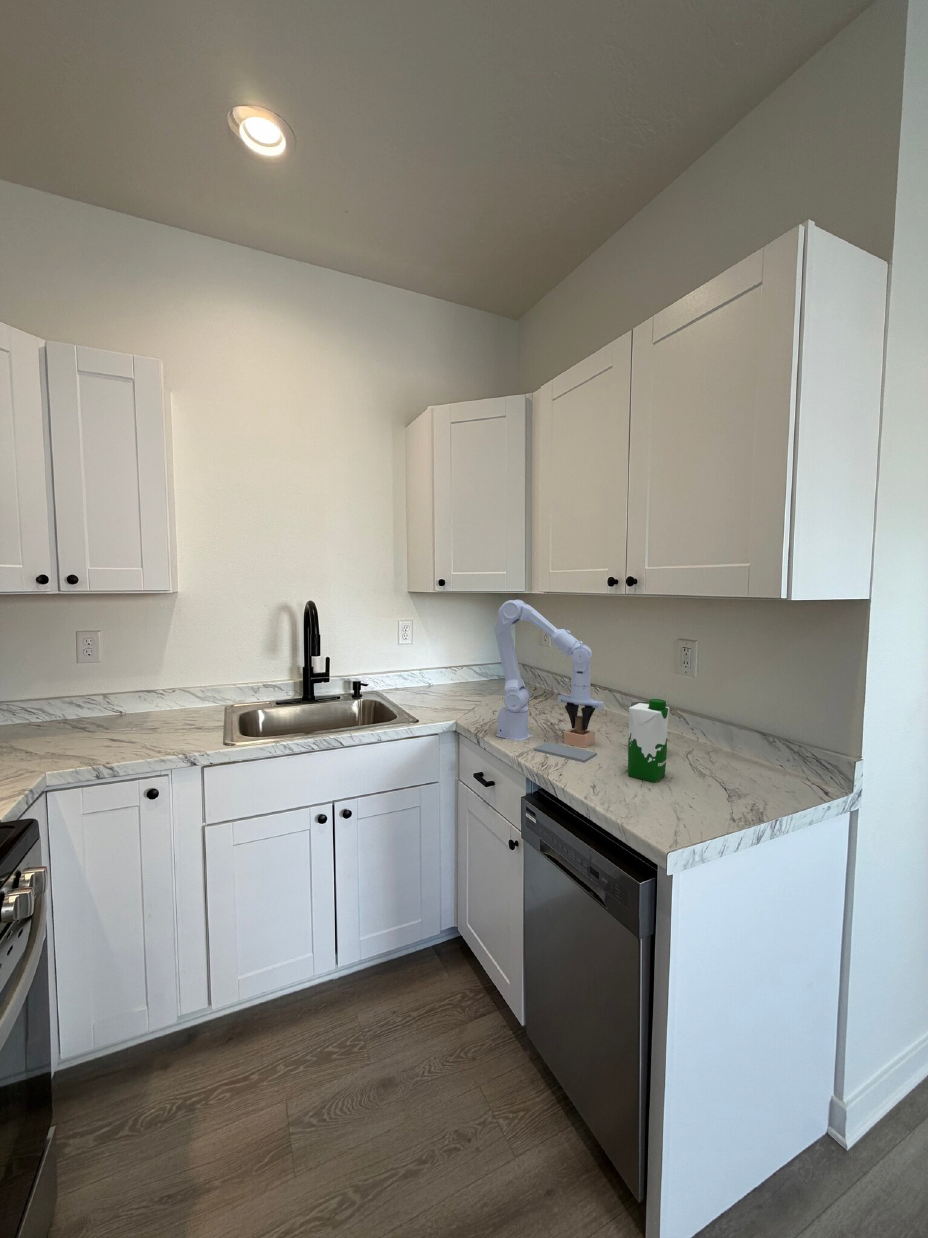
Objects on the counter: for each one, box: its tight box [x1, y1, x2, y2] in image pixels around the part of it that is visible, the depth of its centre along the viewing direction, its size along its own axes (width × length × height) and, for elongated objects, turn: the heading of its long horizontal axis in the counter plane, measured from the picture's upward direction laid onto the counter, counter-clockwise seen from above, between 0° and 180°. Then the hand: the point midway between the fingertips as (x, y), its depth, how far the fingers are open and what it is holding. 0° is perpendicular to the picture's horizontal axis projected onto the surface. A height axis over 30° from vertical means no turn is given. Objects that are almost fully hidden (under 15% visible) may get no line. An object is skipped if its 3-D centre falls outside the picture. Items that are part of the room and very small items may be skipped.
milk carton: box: [627, 698, 670, 784], centre depth 132 cm, size 9×9×20 cm
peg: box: [575, 715, 585, 735], centre depth 158 cm, size 3×3×8 cm
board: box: [533, 741, 598, 764], centre depth 149 cm, size 16×8×1 cm, turn 52°
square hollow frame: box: [563, 727, 596, 749], centre depth 159 cm, size 7×7×4 cm
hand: (579, 728), depth 158 cm, fingers closed on peg, 3 cm apart
